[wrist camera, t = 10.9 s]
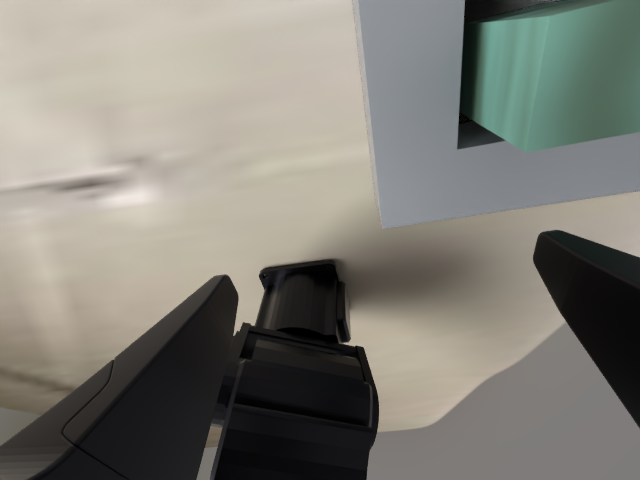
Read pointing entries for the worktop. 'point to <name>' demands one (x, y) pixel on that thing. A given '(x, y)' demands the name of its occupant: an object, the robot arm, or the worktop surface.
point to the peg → (554, 72)
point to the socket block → (458, 128)
